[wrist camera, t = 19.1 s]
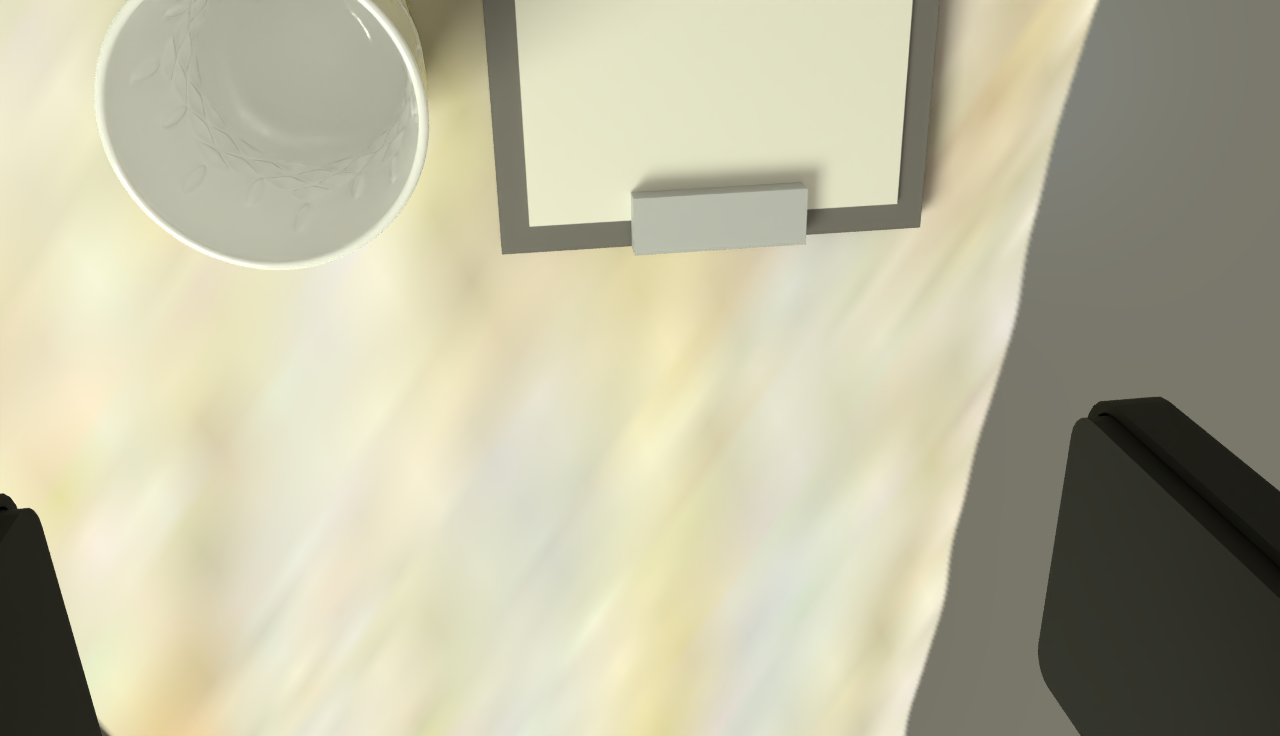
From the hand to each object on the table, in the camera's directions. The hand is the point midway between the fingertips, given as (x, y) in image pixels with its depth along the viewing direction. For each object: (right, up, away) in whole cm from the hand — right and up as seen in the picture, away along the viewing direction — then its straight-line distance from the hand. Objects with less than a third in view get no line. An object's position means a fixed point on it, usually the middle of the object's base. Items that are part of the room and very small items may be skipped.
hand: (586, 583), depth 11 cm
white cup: (-10, +12, +27) cm, 31 cm away
